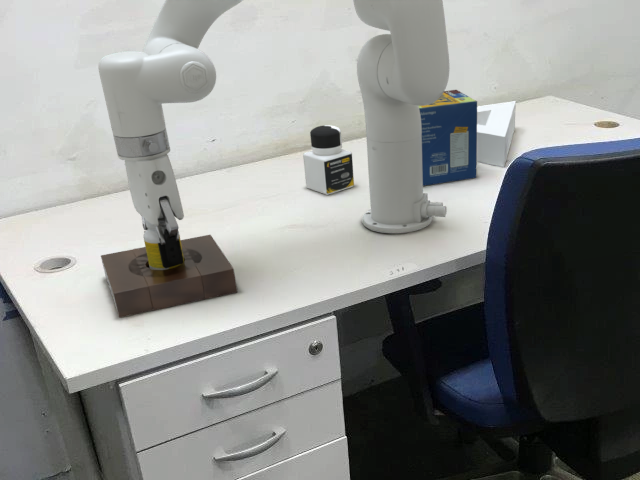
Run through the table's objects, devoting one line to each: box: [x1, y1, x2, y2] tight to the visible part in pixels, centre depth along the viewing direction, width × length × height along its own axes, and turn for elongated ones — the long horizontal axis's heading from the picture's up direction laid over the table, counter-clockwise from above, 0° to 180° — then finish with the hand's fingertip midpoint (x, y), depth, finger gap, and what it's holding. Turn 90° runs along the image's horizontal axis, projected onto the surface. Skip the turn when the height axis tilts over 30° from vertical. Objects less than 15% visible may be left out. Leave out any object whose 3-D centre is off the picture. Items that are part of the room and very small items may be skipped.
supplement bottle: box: [143, 218, 184, 270], centre depth 130 cm, size 5×5×10 cm
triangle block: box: [477, 100, 517, 168], centre depth 191 cm, size 30×26×6 cm
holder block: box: [100, 234, 238, 318], centre depth 133 cm, size 18×16×4 cm
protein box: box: [419, 89, 478, 187], centre depth 169 cm, size 10×15×16 cm
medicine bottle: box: [302, 124, 355, 196], centre depth 167 cm, size 7×7×12 cm
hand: (166, 258), depth 131 cm, fingers closed on supplement bottle, 5 cm apart
